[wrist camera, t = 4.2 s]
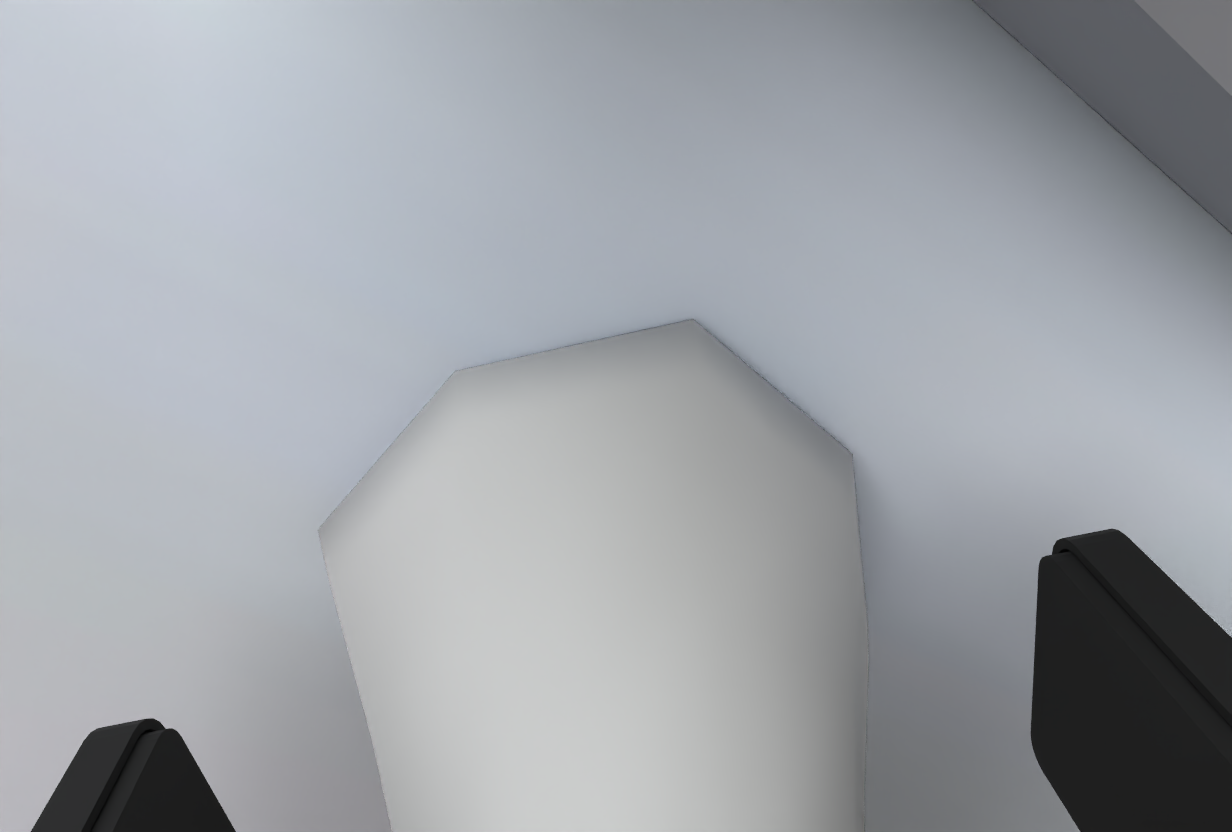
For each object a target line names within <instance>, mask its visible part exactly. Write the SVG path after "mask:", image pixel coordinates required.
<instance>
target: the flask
mask: <svg viewBox="0 0 1232 832" xmlns="http://www.w3.org/2000/svg"><path fill="white" fill-rule="evenodd" d="M318 533H319V538H320V542H321V547H322V551H323V556H324V560H325V565H326V570H327V574H328V579H329V583H330V587H331V590H332V594H333V598H334V601H335V605H336V609H337V613H338V616H339V620H340V624H341V628H342V631H343V635H344V639H345V642H346V646H347V650H348V654H349V657H350V661H351V665H352V669H353V672H354V676H355V680H356V683H357V687H358V691H359V695H360V698H361V702H362V706H363V709H364V713H365V717H366V721H367V724H368V728H369V732H370V736H371V739H372V743H373V748H374V752H375V757H376V762H377V766H378V771H379V775H380V780H381V784H382V789H383V794H384V798H385V803H386V807H387V812H388V817H389V821H390V826H391V830H392V832H865V820H864V798H865V767H866V736H867V704H868V673H869V657H868V619H867V608H866V597H865V586H864V575H863V564H862V553H861V542H860V531H859V520H858V509H857V498H856V487H855V476H854V465H853V454H852V453H851V452H849V451H848V450H847V449H846V448H845V447H844V446H842V445H841V444H840V443H839V442H838V441H836V440H835V439H834V438H833V437H832V436H831V435H829V434H828V433H827V432H826V431H825V430H823V429H822V428H821V427H820V426H819V425H818V424H816V423H815V422H814V421H813V420H812V419H810V418H809V417H808V416H807V415H806V414H805V413H803V412H802V411H801V410H800V409H799V408H798V407H796V406H795V405H794V404H793V403H792V402H790V401H789V400H788V399H787V398H786V397H785V396H783V395H782V394H781V393H780V392H779V391H777V390H776V389H775V388H774V387H773V386H772V385H770V384H769V383H768V382H767V381H766V380H764V379H763V378H762V377H761V376H760V375H759V374H757V373H756V372H755V371H754V370H753V369H751V368H750V367H749V366H748V365H747V364H746V363H744V362H743V361H742V360H741V359H740V358H738V357H737V356H736V355H735V354H734V353H733V352H731V351H730V350H729V349H728V348H727V347H725V346H724V345H723V344H722V343H721V342H720V341H718V340H717V339H716V338H715V337H714V336H713V335H711V334H710V333H709V332H708V331H707V330H705V329H704V328H703V327H702V326H701V325H700V324H698V323H697V322H696V321H695V320H694V319H691V320H687V321H682V322H677V323H673V324H668V325H664V326H659V327H654V328H650V329H645V330H641V331H636V332H632V333H627V334H622V335H618V336H613V337H609V338H604V339H600V340H595V341H590V342H586V343H581V344H577V345H572V346H568V347H563V348H558V349H554V350H549V351H545V352H540V353H535V354H531V355H526V356H522V357H517V358H513V359H508V360H503V361H499V362H494V363H490V364H485V365H481V366H476V367H471V368H467V369H462V370H458V371H455V372H454V373H453V374H452V375H451V376H450V377H449V379H448V380H447V381H446V382H445V383H444V384H443V386H442V387H441V388H440V389H439V390H438V391H437V393H436V394H435V395H434V396H433V397H432V398H431V399H430V401H429V402H428V403H427V404H426V405H425V406H424V408H423V409H422V410H421V411H420V412H419V413H418V414H417V416H416V417H415V418H414V419H413V420H412V421H411V423H410V424H409V425H408V426H407V427H406V428H405V429H404V431H403V432H402V433H401V434H400V435H399V436H398V438H397V439H396V440H395V441H394V442H393V443H392V444H391V446H390V447H389V448H388V449H387V450H386V451H385V453H384V454H383V455H382V456H381V457H380V458H379V460H378V461H377V462H376V463H375V464H374V465H373V466H372V468H371V469H370V470H369V471H368V472H367V473H366V475H365V476H364V477H363V478H362V479H361V480H360V481H359V483H358V484H357V485H356V486H355V487H354V488H353V490H352V491H351V492H350V493H349V494H348V495H347V496H346V498H345V499H344V500H343V501H342V502H341V503H340V505H339V506H338V507H337V508H336V509H335V510H334V511H333V513H332V514H331V515H330V516H329V517H328V518H327V520H326V521H325V522H324V523H323V524H322V525H321V526H320V528H319V529H318Z"/></svg>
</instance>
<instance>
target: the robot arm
mask: <svg viewBox="0 0 1232 832" xmlns="http://www.w3.org/2000/svg"><path fill="white" fill-rule="evenodd" d="M1031 741H1032V746H1033V750H1034V753H1035V756H1036V758H1037V761H1038V763H1039V765H1040V767H1041V769H1042V771H1043V773H1044V774H1045V776H1046V777H1047V779H1048V781H1049V782H1050V784H1051V785H1052V787H1053V789H1054V790H1055V792H1056V793H1057V795H1058V797H1059V798H1060V800H1061V801H1062V803H1063V805H1064V806H1065V808H1066V809H1067V811H1068V813H1069V814H1070V816H1071V817H1072V819H1073V821H1074V822H1075V824H1076V825H1077V827H1078V829H1079V830H1080V832H1232V638H1231V637H1230V636H1229V635H1228V634H1227V633H1226V632H1225V631H1224V630H1223V629H1222V628H1221V627H1220V626H1219V625H1218V624H1217V623H1216V622H1215V621H1214V620H1213V619H1212V618H1211V617H1210V616H1209V615H1208V614H1206V613H1205V612H1204V611H1203V610H1202V609H1201V608H1200V607H1199V606H1198V605H1197V604H1196V603H1195V602H1194V601H1193V600H1192V599H1191V598H1190V597H1189V596H1188V595H1187V594H1186V593H1185V592H1184V591H1183V590H1182V589H1181V588H1180V587H1179V586H1178V585H1177V584H1176V583H1175V582H1173V581H1172V580H1171V579H1170V578H1169V577H1168V576H1167V575H1166V574H1165V573H1164V572H1163V571H1162V570H1161V569H1160V568H1159V567H1158V566H1157V565H1156V564H1155V563H1154V562H1153V561H1152V560H1151V559H1150V558H1149V557H1148V556H1147V555H1146V554H1145V553H1144V552H1143V551H1142V550H1140V549H1139V548H1138V547H1137V546H1136V545H1135V544H1134V543H1133V542H1132V541H1131V540H1130V539H1129V538H1128V537H1127V536H1126V535H1125V534H1123V533H1122V532H1120V531H1119V530H1115V529H1108V530H1103V531H1098V532H1093V533H1088V534H1082V535H1077V536H1072V537H1067V538H1062V539H1060V540H1057V541H1056V543H1055V545H1054V546H1053V552H1052V555H1049V556H1045V557H1042V559H1041V560H1040V563H1039V572H1038V593H1037V613H1036V634H1035V655H1034V676H1033V697H1032V718H1031ZM31 832H236V831H235V829H234V828H233V826H232V824H231V823H230V821H229V819H228V817H227V816H226V814H225V812H224V810H223V809H222V807H221V805H220V803H219V802H218V800H217V798H216V796H215V795H214V793H213V791H212V789H211V788H210V786H209V784H208V782H207V781H206V779H205V777H204V775H203V774H202V772H201V770H200V768H199V767H198V765H197V763H196V761H195V760H194V758H193V756H192V754H191V753H190V751H189V749H188V747H187V746H186V744H185V742H184V740H183V739H182V737H181V736H180V734H179V733H178V732H177V731H176V730H174V729H165V728H164V726H163V725H162V724H161V723H160V722H159V721H157V720H155V719H143V720H138V721H133V722H128V723H123V724H118V725H112V726H107V727H102V728H98V729H96V730H94V731H93V732H91V733H90V734H89V735H88V736H87V738H86V739H85V740H84V741H83V743H82V745H81V747H80V748H79V750H78V752H77V753H76V755H75V757H74V759H73V760H72V762H71V764H70V765H69V767H68V769H67V771H66V772H65V774H64V776H63V778H62V779H61V781H60V783H59V784H58V786H57V788H56V790H55V791H54V793H53V795H52V796H51V798H50V800H49V802H48V803H47V805H46V807H45V808H44V810H43V812H42V814H41V815H40V817H39V819H38V820H37V822H36V824H35V826H34V827H33V829H32V831H31Z"/></svg>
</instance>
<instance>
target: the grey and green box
mask: <svg viewBox="0 0 1232 832" xmlns="http://www.w3.org/2000/svg"><path fill="white" fill-rule="evenodd" d="M973 1H974V2H975V3H976V4H977V5H978V6H979V7H981V8H982V9H983V10H984V11H985V12H986V13H987V14H988V15H989V16H991V17H992V18H993V19H994V20H995V21H996V22H997V23H998V24H999V25H1001V26H1002V27H1003V28H1004V29H1005V30H1006V31H1007V32H1008V33H1009V34H1011V35H1012V36H1013V37H1014V38H1015V39H1016V40H1017V41H1018V42H1019V43H1021V44H1022V45H1023V46H1024V47H1025V48H1026V49H1027V50H1028V51H1029V52H1031V53H1032V54H1033V55H1034V56H1035V57H1036V58H1037V59H1038V60H1039V61H1041V62H1042V63H1043V64H1044V65H1045V66H1046V67H1047V68H1048V69H1050V70H1051V71H1052V72H1053V73H1054V74H1055V75H1056V76H1057V77H1058V78H1060V79H1061V80H1062V81H1063V82H1064V83H1065V84H1066V85H1067V86H1068V87H1070V88H1071V89H1072V90H1073V91H1074V92H1075V93H1076V94H1077V95H1078V96H1080V97H1081V98H1082V99H1083V100H1084V101H1085V102H1086V103H1087V104H1088V105H1090V106H1091V107H1092V108H1093V109H1094V110H1095V111H1096V112H1097V113H1098V114H1100V115H1101V116H1102V117H1103V118H1104V119H1105V120H1106V121H1107V122H1108V123H1110V124H1111V125H1112V126H1113V127H1114V128H1115V129H1116V130H1117V131H1118V132H1120V133H1121V134H1122V135H1123V136H1124V137H1125V138H1126V139H1127V140H1128V141H1130V142H1131V143H1132V144H1133V145H1134V146H1135V147H1136V148H1137V149H1138V150H1140V151H1141V152H1142V153H1143V154H1144V155H1145V156H1146V157H1147V158H1148V159H1150V160H1151V161H1152V162H1153V163H1154V164H1155V165H1156V166H1157V167H1158V168H1160V169H1161V170H1162V171H1163V172H1164V173H1165V174H1166V175H1167V176H1168V177H1170V178H1171V179H1172V180H1173V181H1174V182H1175V183H1176V184H1177V185H1179V186H1180V187H1181V188H1182V189H1183V190H1184V191H1185V192H1186V193H1187V194H1189V195H1190V196H1191V197H1192V198H1193V199H1194V200H1195V201H1196V202H1197V203H1199V204H1200V205H1201V206H1202V207H1203V208H1204V209H1205V210H1206V211H1207V212H1209V213H1210V214H1211V215H1212V216H1213V217H1214V218H1215V219H1216V220H1217V221H1219V222H1220V223H1221V224H1222V225H1223V226H1224V227H1225V228H1226V229H1227V230H1229V231H1230V232H1231V233H1232V0H973Z"/></svg>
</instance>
